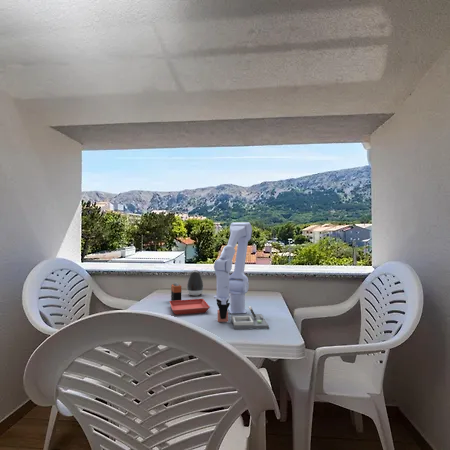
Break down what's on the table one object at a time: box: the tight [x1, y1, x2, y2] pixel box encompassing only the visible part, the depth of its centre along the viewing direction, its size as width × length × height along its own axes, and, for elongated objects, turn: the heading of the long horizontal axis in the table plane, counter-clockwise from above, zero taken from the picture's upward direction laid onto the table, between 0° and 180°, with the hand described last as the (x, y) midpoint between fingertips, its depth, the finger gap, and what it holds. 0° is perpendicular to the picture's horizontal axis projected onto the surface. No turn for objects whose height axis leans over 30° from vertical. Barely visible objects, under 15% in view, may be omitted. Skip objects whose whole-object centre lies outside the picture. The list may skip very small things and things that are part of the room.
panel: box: [230, 313, 270, 330], centre depth 126 cm, size 16×14×2 cm
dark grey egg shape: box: [186, 269, 204, 297], centre depth 179 cm, size 10×10×15 cm
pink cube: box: [216, 309, 229, 323], centre depth 129 cm, size 4×4×4 cm
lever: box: [248, 305, 257, 320], centre depth 127 cm, size 3×1×6 cm, turn 4°
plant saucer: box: [169, 298, 211, 316], centre depth 146 cm, size 18×18×3 cm
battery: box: [170, 282, 182, 301], centre depth 163 cm, size 4×7×10 cm, turn 23°
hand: (222, 316), depth 129 cm, fingers closed on pink cube, 4 cm apart
